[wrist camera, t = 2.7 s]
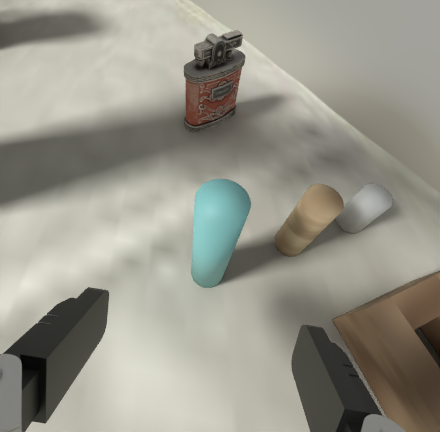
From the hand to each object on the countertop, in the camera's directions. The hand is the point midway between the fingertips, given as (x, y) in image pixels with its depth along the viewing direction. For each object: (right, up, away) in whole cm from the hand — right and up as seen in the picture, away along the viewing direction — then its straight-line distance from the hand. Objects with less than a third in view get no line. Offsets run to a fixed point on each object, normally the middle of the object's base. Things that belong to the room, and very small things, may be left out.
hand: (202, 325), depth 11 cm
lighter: (-1, +18, +25) cm, 30 cm away
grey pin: (+15, +4, +18) cm, 24 cm away
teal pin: (0, -1, +13) cm, 14 cm away
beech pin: (+8, +2, +16) cm, 18 cm away
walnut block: (+17, -8, +12) cm, 22 cm away
